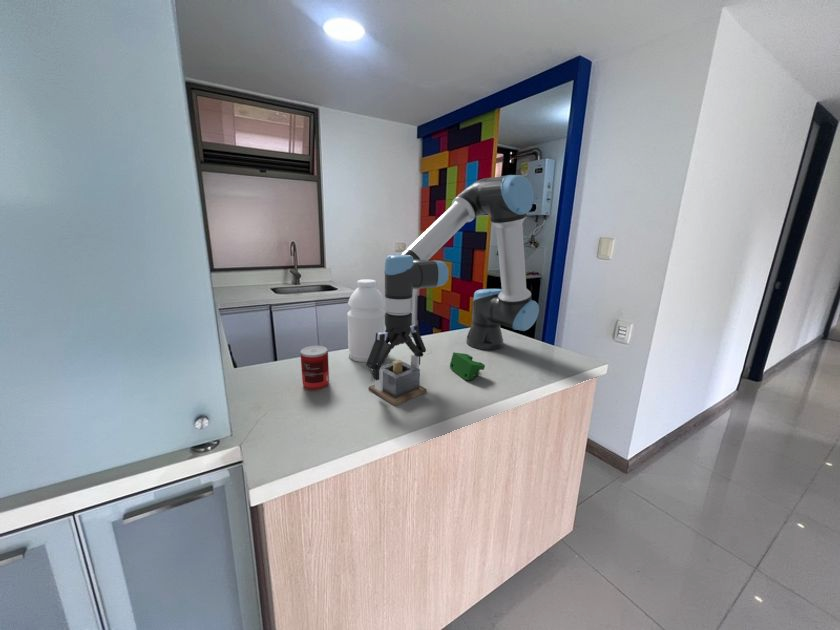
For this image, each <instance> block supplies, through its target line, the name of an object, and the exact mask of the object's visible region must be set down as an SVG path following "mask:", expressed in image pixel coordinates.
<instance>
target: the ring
mask: <svg viewBox="0 0 840 630" xmlns="http://www.w3.org/2000/svg"><path fill="white" fill-rule="evenodd" d="M398 361H402V373H399V374H395V373H393V362H394V361H392V362H390V363H387V364H382V366H381V368H382V369H383V391H384V392H386V393H387V394H389V395H391V396H392V397H394V398H398V397H400V396H403V395H405V394H407V393H410V392H412V391H414V390H417V389H419V385H420V381H421V379H420V377H421V376H420V375H421V374H420V373H421V369H420V368H419V369H418V368H415V367H413V366H411V364H409V363H407V362H404V361H403V360H400V359H399V360H398Z"/></svg>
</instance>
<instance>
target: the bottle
mask: <svg viewBox="0 0 840 630" xmlns="http://www.w3.org/2000/svg"><path fill="white" fill-rule="evenodd" d="M356 286H357V287H356V288H355V289H354V291H353V292H352V293H351V295H350V297H349V299H348V301H347V305H348V306H349V307H350V310H349V311H348V312H347V314H346V316H347V343H348V344H347V345H348V351H347V353H348V354H347V355H348V357H349V358H350V359H351V360H352V361H354V362H355V361H356V362H360V363H367V361H368V358H369V355H370V353H371V350H372V347H373V345H374V342H375V338H376V333H377V332H380V333H384V332H385V331H386V326H385V313H386V312H387V311H385V296H384V295H383V293H382V292H381V291H380V290H379V288H377V280H375V279H367V278H365V279H363V278H362V279H359V280H356ZM384 341H385V340H384Z"/></svg>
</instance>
